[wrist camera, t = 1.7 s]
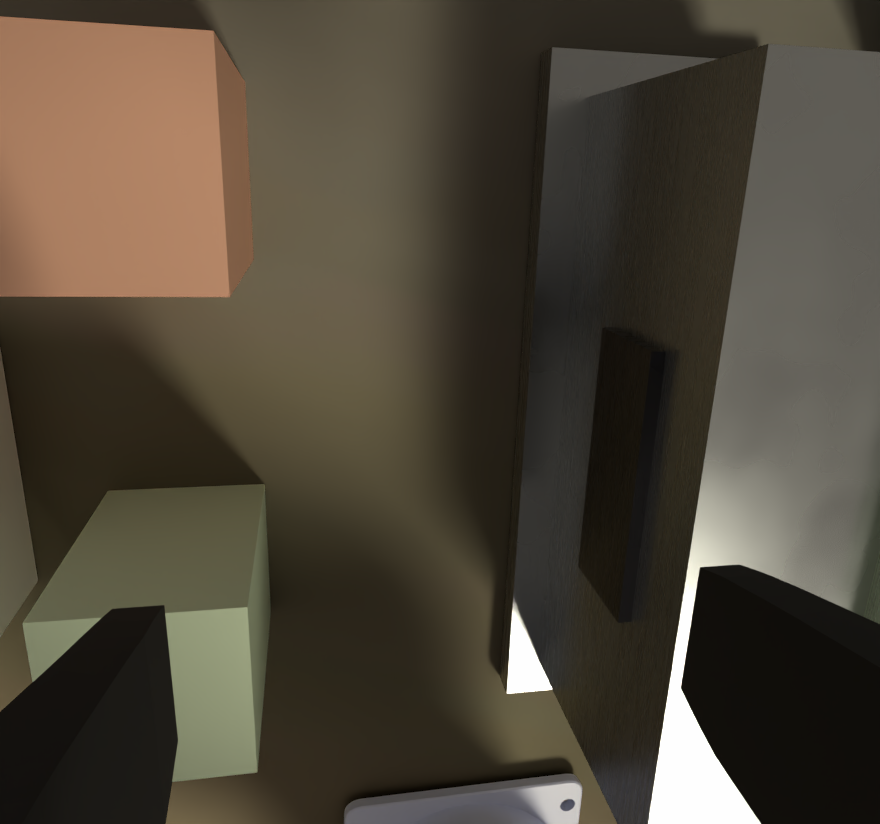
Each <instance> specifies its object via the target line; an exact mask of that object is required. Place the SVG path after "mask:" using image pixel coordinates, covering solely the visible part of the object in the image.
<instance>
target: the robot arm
mask: <svg viewBox="0 0 880 824" xmlns="http://www.w3.org/2000/svg"><path fill="white" fill-rule="evenodd" d="M681 690H682V692H683V694H684V696H685V698H686V701H687V703H688V705H689V707H690V709H691V711H692V713H693V715H694V717H695V719H696V721H697V723H698V725H699V727H700V729H701V731H702V732H703V734H704V736H705V738H706V740H707V742H708V744H709V745H710V747H711V749H712V751H713V753H714V755H715V756H716V758H717V759H718V761H719V762H720V764H721V765H722V767H723V769H724V770H725V772H726V773H727V775H728V776H729V777H730V779H731V780H732V782H733V783H734V785H735V786H736V788H737V789H738V791H739V792H740V794H741V795H742V797H743V798H744V800H745V801H746V803H747V804H748V805H749V807H750V808H751V810H752V811H753V813H754V814H755V816H756V817H757V819H758V820H759V821H760V823H761V824H880V624H878V623H876V622H874V621H872V620H869V619H867V618H865V617H863V616H861V615H858V614H856V613H854V612H852V611H850V610H847V609H845V608H843V607H841V606H839V605H836V604H834V603H832V602H830V601H828V600H825V599H823V598H821V597H819V596H817V595H814V594H812V593H810V592H808V591H805V590H803V589H801V588H799V587H796V586H794V585H792V584H789V583H787V582H785V581H782V580H780V579H778V578H775V577H773V576H770V575H768V574H765V573H763V572H760V571H757V570H755V569H752V568H749V567H746V566H743V565H739V564H738V565H724V566H710V567H700V570H699V576H698V582H697V588H696V595H695V601H694V607H693V613H692V620H691V626H690V632H689V638H688V645H687V651H686V657H685V663H684V670H683V676H682V682H681ZM177 744H178V734H177V724H176V715H175V705H174V695H173V685H172V675H171V666H170V656H169V646H168V636H167V626H166V617H165V607H164V605H158V606H144V607H130V608H116V609H111V610H110V611H109V612H108V613H107V614H106V615H104V616H103V617H102V618H101V619H100V620H99V621H98V622H97V623H96V624H95V625H93V626H92V627H91V628H90V629H89V630H88V631H87V632H86V633H85V634H84V635H83V636H82V637H81V638H80V639H79V640H78V641H77V642H75V643H74V644H73V645H72V646H71V647H70V648H69V649H68V650H67V651H66V652H65V653H64V654H63V655H62V656H61V657H60V658H58V659H57V660H56V661H55V662H54V663H53V664H52V665H51V666H50V667H49V668H48V669H47V670H46V671H45V672H43V673H42V674H41V675H40V676H39V677H38V678H37V679H36V680H35V681H34V682H33V683H31V684H30V685H29V686H28V687H27V688H26V689H25V690H24V691H23V692H22V693H20V694H19V695H18V696H17V697H16V698H15V699H14V700H13V701H12V702H11V703H9V704H8V705H7V706H6V707H5V708H4V709H3V710H2V711H1V712H0V824H165V823H166V817H167V811H168V804H169V798H170V792H171V786H172V779H173V772H174V765H175V758H176V751H177ZM567 799H568V800H567ZM581 799H582V785H581V783H580V781H579V779H578V778H577V776H575V775H573V774H559V775H550V776H542V777H534V778H526V779H518V780H510V781H501V782H493V783H485V784H477V785H469V786H461V787H452V788H444V789H436V790H428V791H420V792H412V793H403V794H395V795H387V796H379V797H371V798H363V799H357V800H354V801H352V802H351V803H349V804H348V805H347V806H346V808H345V811H344V824H579V816H580V807H581ZM564 800H567V801H564ZM563 801H564V802H563Z"/></svg>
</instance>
